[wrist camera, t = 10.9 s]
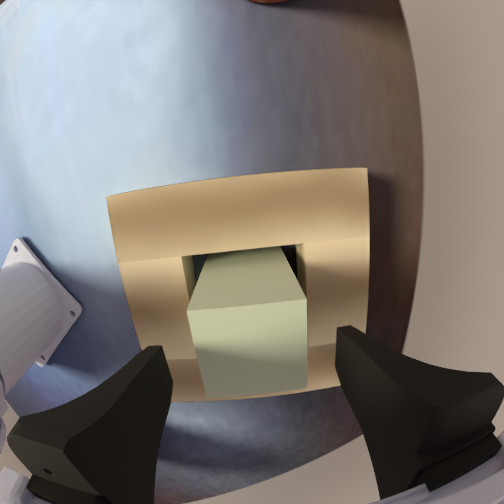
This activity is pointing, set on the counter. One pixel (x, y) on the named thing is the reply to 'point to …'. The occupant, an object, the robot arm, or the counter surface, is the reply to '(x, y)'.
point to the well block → (240, 238)
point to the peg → (249, 324)
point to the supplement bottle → (268, 1)
